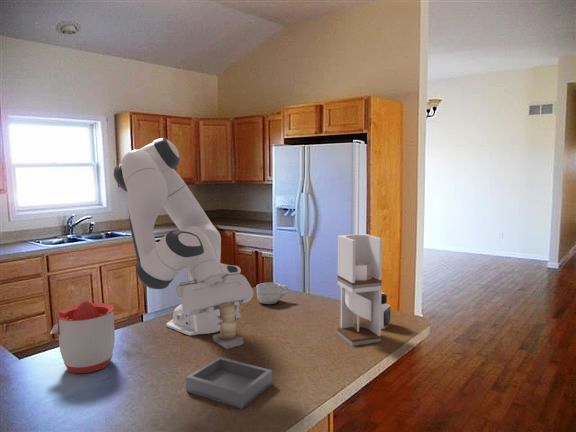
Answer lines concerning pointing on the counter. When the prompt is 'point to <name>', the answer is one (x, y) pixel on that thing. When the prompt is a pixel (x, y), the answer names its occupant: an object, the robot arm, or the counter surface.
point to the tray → (229, 382)
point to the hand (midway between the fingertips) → (228, 321)
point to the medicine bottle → (384, 311)
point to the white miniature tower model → (360, 288)
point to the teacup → (270, 292)
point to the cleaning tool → (228, 328)
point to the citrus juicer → (86, 336)
